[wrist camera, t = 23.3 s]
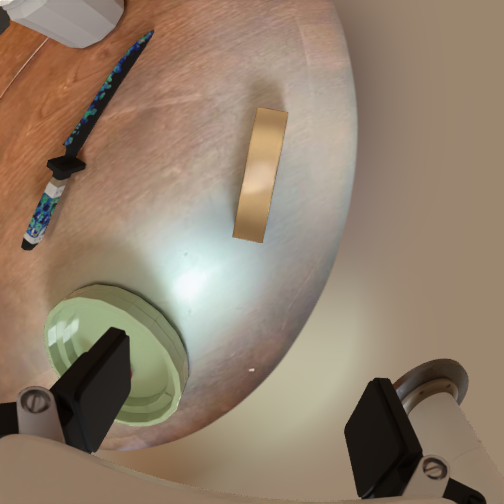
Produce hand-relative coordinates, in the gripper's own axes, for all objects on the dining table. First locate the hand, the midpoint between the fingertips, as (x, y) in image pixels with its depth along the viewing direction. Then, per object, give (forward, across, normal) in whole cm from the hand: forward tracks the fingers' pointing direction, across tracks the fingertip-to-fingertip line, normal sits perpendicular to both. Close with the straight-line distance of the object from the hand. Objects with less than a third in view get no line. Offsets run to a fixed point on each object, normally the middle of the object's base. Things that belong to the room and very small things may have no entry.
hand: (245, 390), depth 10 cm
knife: (+24, +23, -8) cm, 34 cm away
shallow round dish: (+23, +16, +19) cm, 34 cm away
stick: (+23, +2, -7) cm, 24 cm away
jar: (+24, +27, -26) cm, 44 cm away
